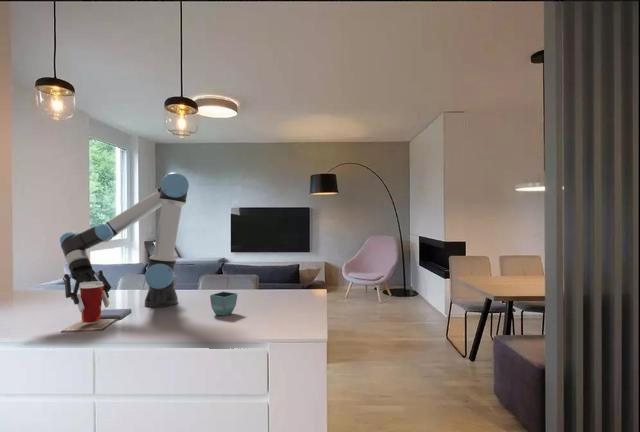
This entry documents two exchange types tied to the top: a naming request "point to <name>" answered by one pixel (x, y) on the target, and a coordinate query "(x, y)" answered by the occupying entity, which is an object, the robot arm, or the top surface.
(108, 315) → the pad
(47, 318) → the top surface
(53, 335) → the top surface
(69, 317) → the top surface
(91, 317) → the coffee cup
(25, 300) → the top surface
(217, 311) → the flower pot
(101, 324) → the wooden square board
